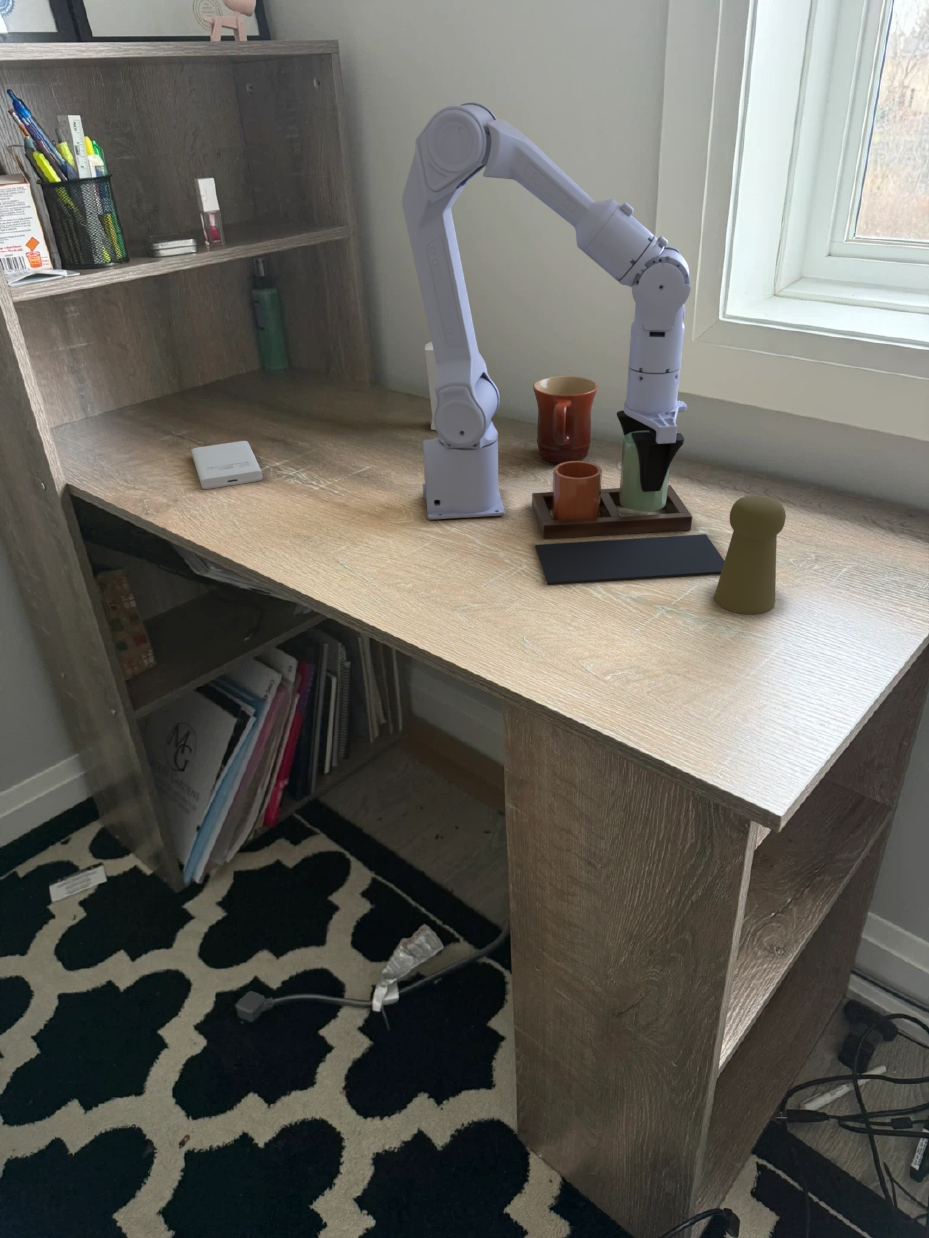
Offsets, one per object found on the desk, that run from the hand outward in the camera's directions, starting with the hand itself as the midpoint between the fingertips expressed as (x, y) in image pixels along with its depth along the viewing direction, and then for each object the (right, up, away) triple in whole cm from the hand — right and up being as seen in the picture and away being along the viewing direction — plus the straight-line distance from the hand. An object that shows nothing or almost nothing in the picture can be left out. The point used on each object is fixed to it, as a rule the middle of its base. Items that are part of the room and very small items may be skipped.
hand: (644, 480), depth 107 cm
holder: (-4, -4, +2) cm, 6 cm away
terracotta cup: (-8, -5, +2) cm, 9 cm away
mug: (-8, +5, +18) cm, 21 cm away
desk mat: (-3, -10, -7) cm, 13 cm away
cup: (0, -2, +2) cm, 3 cm away
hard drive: (-55, +4, +19) cm, 59 cm away
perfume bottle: (-25, +13, +32) cm, 43 cm away
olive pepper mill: (+7, -15, -15) cm, 22 cm away
